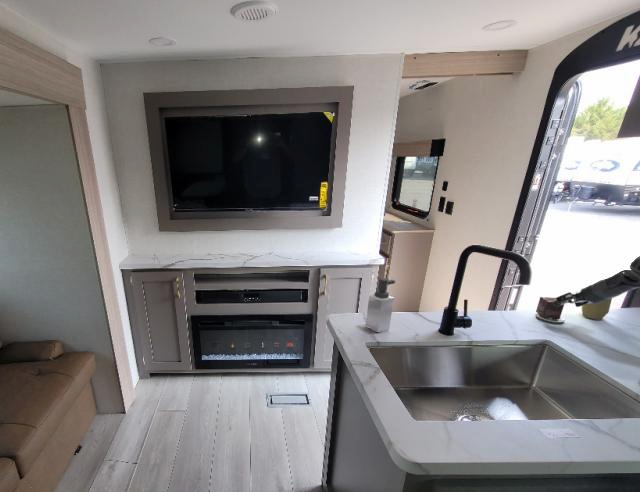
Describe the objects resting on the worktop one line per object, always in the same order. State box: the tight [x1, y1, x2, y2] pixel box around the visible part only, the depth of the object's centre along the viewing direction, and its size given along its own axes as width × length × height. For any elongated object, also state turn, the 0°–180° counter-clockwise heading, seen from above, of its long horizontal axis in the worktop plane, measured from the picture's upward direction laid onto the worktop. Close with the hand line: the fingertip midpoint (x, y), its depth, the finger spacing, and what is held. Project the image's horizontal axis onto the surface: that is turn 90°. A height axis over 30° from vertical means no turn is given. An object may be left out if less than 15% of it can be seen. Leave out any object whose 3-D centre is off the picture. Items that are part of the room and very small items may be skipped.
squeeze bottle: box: [581, 298, 613, 321], centre depth 136 cm, size 8×8×18 cm
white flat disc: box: [535, 313, 566, 325], centre depth 138 cm, size 9×9×1 cm
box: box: [535, 296, 565, 319], centre depth 138 cm, size 6×6×7 cm
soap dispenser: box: [365, 277, 396, 333], centre depth 133 cm, size 6×9×22 cm
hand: (565, 304), depth 132 cm, fingers open, 8 cm apart
